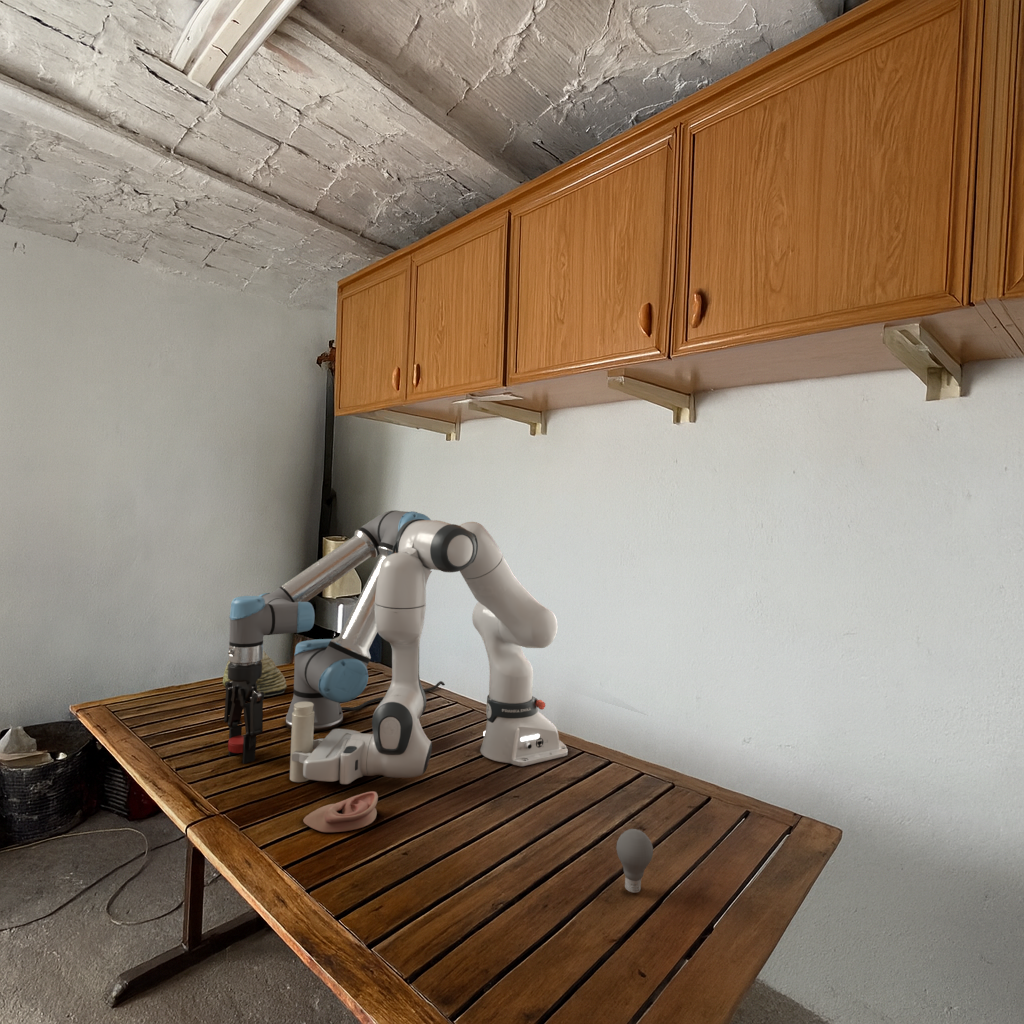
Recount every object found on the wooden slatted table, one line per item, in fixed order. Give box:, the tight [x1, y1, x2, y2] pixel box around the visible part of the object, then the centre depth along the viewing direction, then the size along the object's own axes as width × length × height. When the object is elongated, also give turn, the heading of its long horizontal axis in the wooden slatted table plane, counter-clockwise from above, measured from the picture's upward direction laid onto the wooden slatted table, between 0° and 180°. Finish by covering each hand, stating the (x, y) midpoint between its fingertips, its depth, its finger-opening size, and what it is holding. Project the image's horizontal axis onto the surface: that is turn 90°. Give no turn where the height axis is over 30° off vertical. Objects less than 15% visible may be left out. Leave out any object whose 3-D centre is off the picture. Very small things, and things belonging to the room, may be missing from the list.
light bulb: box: [615, 828, 654, 894], centre depth 106 cm, size 6×6×10 cm
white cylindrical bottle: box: [289, 702, 315, 783], centre depth 142 cm, size 5×5×17 cm
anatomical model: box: [302, 791, 379, 833], centre depth 125 cm, size 13×4×12 cm
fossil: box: [222, 649, 288, 698], centre depth 198 cm, size 9×18×15 cm, turn 132°
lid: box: [227, 734, 244, 754], centre depth 151 cm, size 6×6×2 cm
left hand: (241, 757), depth 152 cm, fingers closed on lid, 6 cm apart
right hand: (297, 750), depth 142 cm, fingers closed on white cylindrical bottle, 5 cm apart
